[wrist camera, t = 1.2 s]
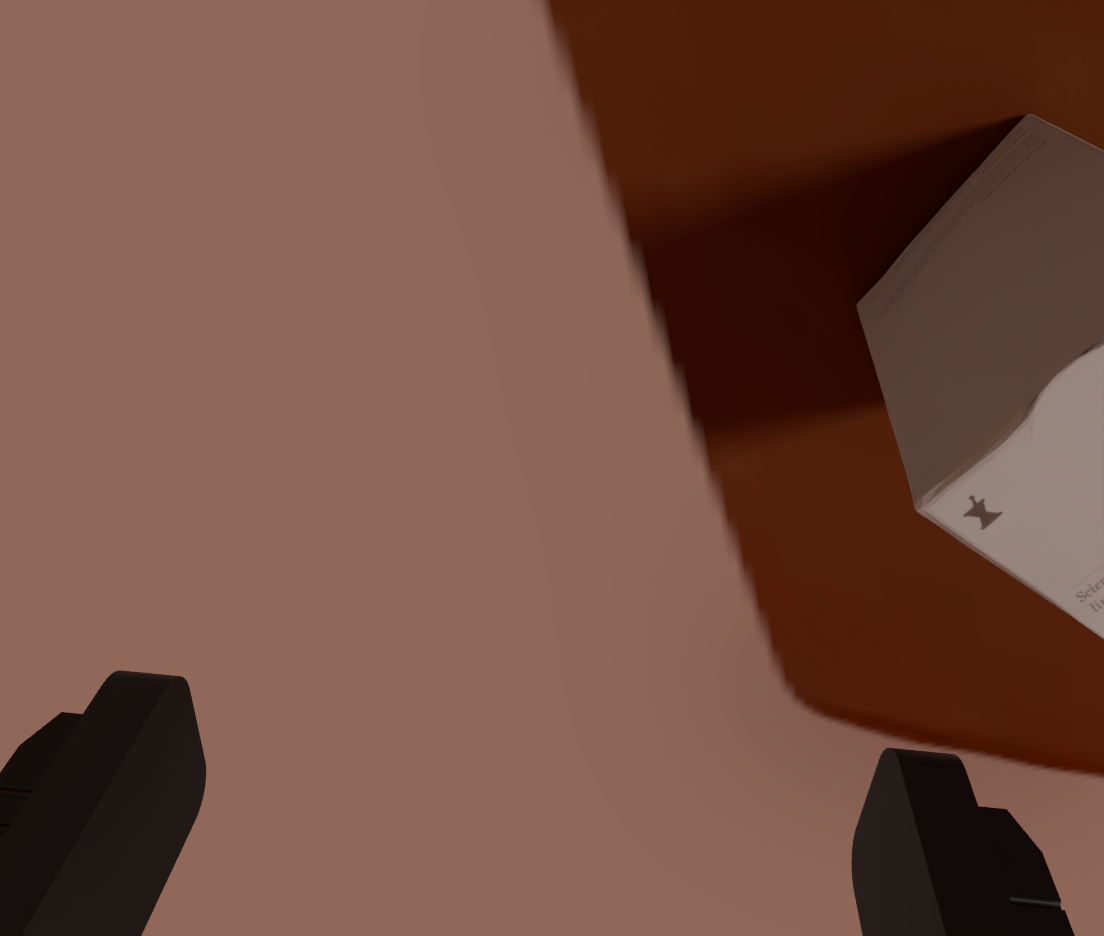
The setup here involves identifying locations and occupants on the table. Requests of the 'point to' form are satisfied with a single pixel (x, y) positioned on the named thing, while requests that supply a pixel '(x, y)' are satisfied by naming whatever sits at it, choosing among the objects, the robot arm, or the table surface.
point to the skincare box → (1007, 364)
